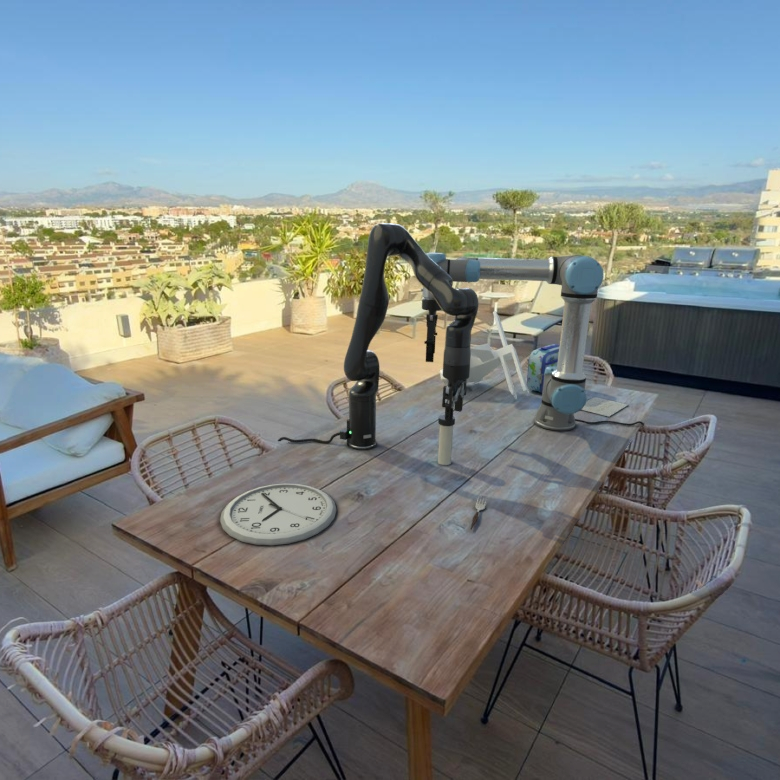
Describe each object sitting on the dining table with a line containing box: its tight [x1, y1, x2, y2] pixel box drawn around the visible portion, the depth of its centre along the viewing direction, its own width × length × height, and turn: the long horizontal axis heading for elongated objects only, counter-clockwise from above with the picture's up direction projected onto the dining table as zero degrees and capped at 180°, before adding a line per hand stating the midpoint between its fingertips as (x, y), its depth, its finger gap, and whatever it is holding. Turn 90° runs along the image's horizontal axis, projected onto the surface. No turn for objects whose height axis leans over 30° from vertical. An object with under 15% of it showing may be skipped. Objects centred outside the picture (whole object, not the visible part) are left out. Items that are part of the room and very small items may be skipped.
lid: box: [437, 414, 456, 427], centre depth 166 cm, size 5×5×2 cm
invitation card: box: [580, 396, 629, 418], centre depth 226 cm, size 21×1×15 cm
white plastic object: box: [438, 310, 531, 400], centre depth 245 cm, size 37×45×31 cm
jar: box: [437, 424, 454, 466], centre depth 168 cm, size 4×4×15 cm
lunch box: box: [526, 343, 560, 394], centre depth 247 cm, size 26×11×21 cm, turn 134°
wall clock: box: [219, 483, 337, 546], centre depth 138 cm, size 30×2×30 cm
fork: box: [470, 495, 488, 530], centre depth 138 cm, size 3×16×2 cm, turn 160°
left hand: (453, 415), depth 151 cm, fingers open, 8 cm apart
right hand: (430, 357), depth 190 cm, fingers open, 13 cm apart
